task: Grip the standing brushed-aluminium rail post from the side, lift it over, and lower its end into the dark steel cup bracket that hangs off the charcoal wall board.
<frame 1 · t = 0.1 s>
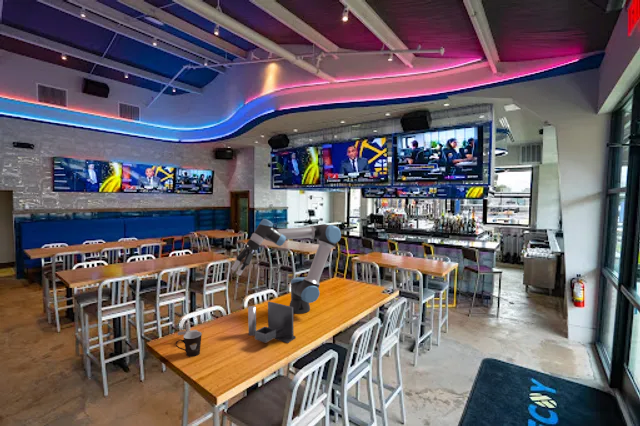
hand: (235, 272, 183), 36 cm above the table, tool tilted 35°, fingers open, 13 cm apart
pipe connector: (187, 341, 172), on the table
rail post: (252, 333, 181), on the table
coffee mug: (190, 354, 158), on the table
cup bracket: (265, 344, 167), on the table
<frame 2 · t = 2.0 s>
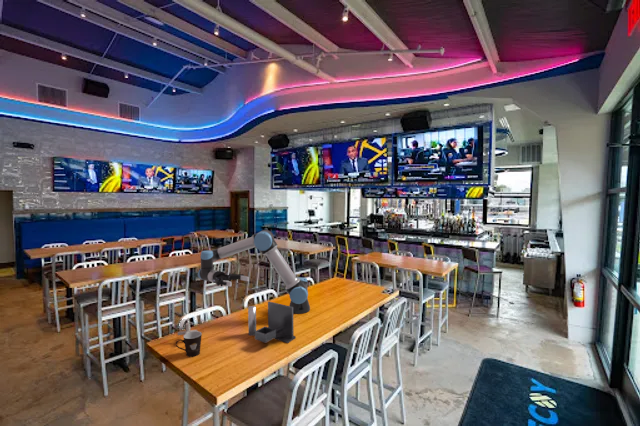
hand: (240, 281, 185), 30 cm above the table, tool horizontal, fingers open, 13 cm apart
nothing on the table moved.
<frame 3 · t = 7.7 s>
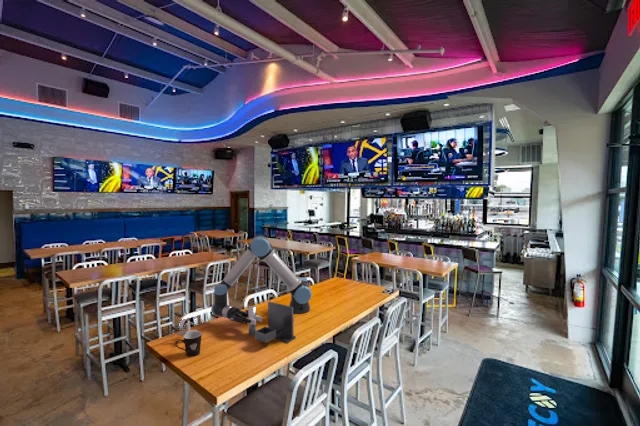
hand: (258, 320, 178), 9 cm above the table, tool horizontal, fingers closed on rail post, 4 cm apart
rail post: (252, 333, 181), on the table, touching gripper
everything else where it was.
when the fingers open (15 cm above the table, at t = 16.9 s): rail post drops 1 cm, resting on cup bracket.
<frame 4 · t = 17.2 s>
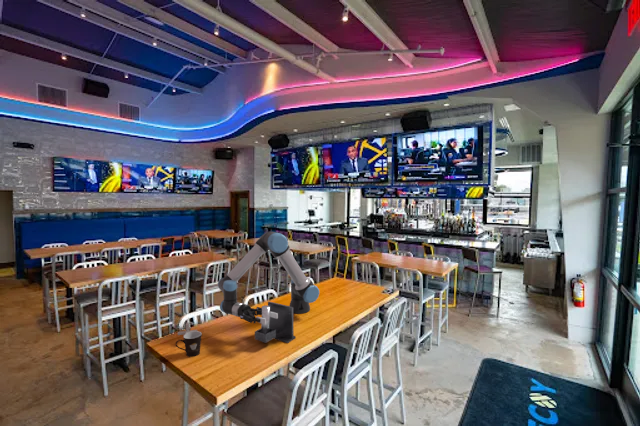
hand: (271, 318, 164), 15 cm above the table, tool horizontal, fingers open, 8 cm apart
rail post: (265, 335, 167), point 5 cm above the table, touching cup bracket
everything else where it was.
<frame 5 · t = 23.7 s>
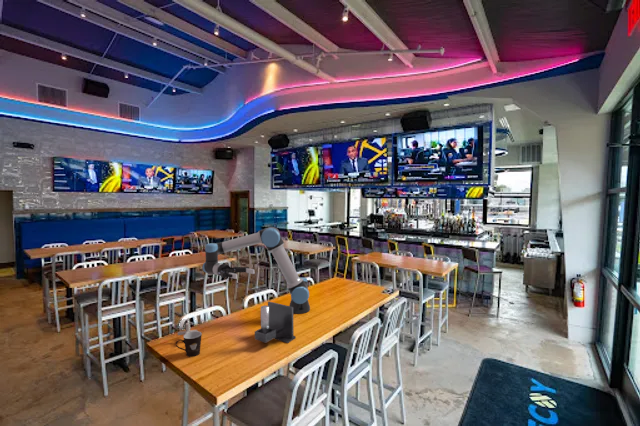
hand: (245, 274, 182), 35 cm above the table, tool horizontal, fingers open, 13 cm apart
nothing on the table moved.
at the end: rail post 0.1 cm off-centre on the cup bracket, point 5.0 cm above the cup bracket's base; rail post tilted 1°; the gripper is holding nothing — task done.
